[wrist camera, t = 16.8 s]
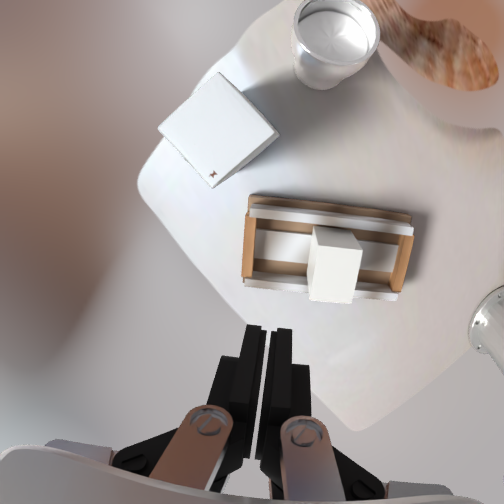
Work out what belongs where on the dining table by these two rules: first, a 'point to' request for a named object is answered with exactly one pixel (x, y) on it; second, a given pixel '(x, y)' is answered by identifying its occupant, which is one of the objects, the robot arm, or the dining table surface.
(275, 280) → the rail board
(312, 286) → the block
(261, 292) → the dining table surface
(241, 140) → the supplement box
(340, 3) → the beer glass
